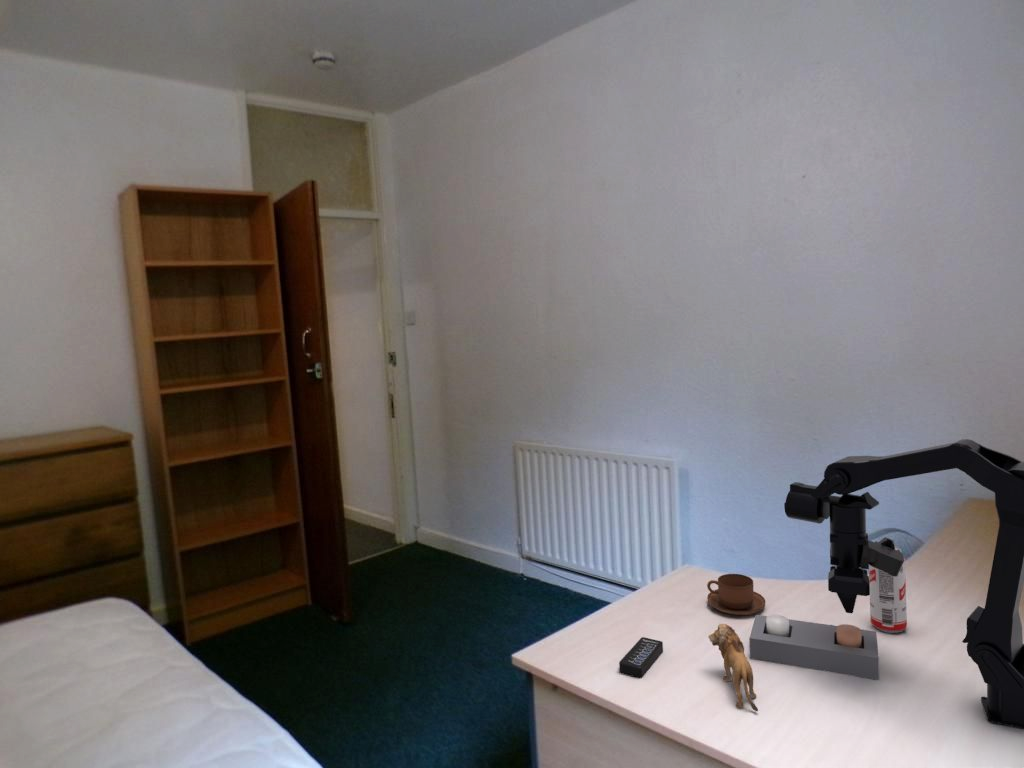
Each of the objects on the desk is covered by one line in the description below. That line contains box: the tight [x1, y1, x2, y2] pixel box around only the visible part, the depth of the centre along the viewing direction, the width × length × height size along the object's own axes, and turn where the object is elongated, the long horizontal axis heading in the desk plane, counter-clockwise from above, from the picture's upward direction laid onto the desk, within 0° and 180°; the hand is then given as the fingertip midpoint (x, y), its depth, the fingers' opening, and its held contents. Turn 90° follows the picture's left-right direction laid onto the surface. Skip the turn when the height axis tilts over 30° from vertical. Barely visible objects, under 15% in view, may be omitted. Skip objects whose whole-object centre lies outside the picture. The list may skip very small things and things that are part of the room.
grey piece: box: [766, 614, 789, 637], centre depth 124 cm, size 4×4×4 cm
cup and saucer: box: [706, 573, 766, 616], centre depth 143 cm, size 12×12×6 cm
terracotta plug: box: [836, 623, 862, 648], centre depth 119 cm, size 4×4×4 cm
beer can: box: [868, 545, 908, 634], centre depth 129 cm, size 6×6×16 cm
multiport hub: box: [618, 636, 664, 679], centre depth 124 cm, size 4×11×2 cm, turn 146°
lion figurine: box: [707, 623, 759, 712], centre depth 112 cm, size 15×5×9 cm, turn 5°
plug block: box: [748, 614, 880, 681], centre depth 122 cm, size 10×21×4 cm, turn 63°
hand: (849, 612), depth 118 cm, fingers closed
